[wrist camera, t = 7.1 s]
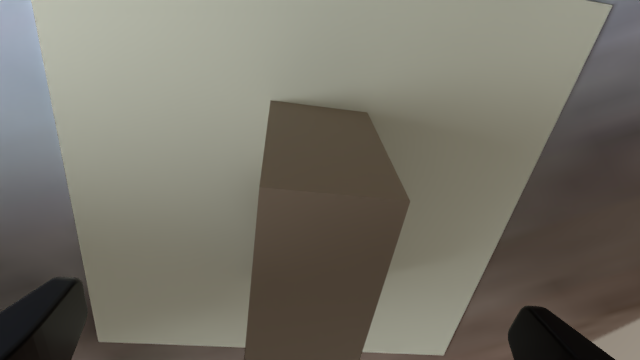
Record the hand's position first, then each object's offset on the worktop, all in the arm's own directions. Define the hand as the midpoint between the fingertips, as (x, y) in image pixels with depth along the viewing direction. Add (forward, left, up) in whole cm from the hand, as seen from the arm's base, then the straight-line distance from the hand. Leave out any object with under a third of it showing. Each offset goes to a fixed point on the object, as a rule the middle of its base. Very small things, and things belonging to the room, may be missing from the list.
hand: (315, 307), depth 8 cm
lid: (0, 0, -4) cm, 4 cm away
